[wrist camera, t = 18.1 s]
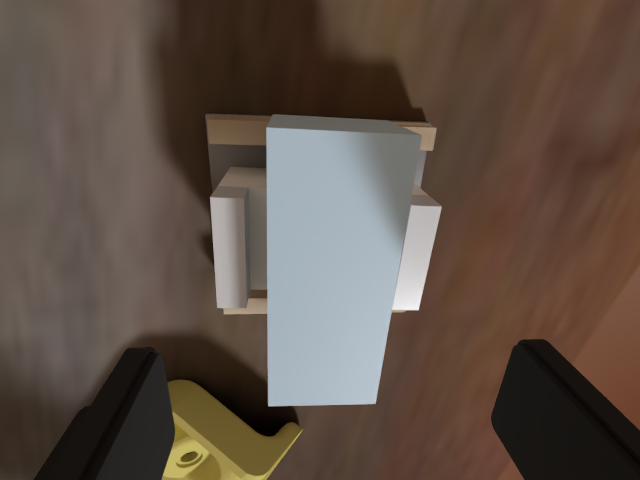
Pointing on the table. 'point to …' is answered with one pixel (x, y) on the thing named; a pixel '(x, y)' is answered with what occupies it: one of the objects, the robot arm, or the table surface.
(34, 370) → the table surface
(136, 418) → the robot arm
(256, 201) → the white i-beam block
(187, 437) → the plastic component
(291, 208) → the light blue rectangular block
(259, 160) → the assembly jig
